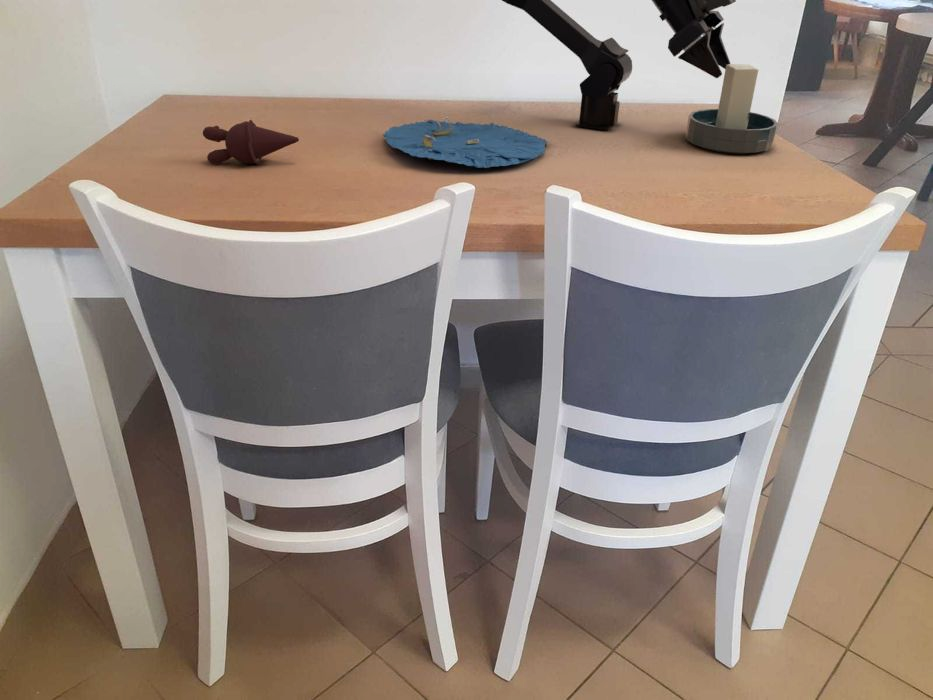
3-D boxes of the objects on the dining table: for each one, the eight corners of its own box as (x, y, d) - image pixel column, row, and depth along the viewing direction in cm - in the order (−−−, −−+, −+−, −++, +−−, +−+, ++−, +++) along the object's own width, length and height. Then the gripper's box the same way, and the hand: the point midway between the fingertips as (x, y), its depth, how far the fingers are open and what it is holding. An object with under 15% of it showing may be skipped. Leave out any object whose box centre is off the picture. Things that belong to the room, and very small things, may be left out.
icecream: (300, 116, 120) (208, 123, 120) (290, 115, 113) (193, 123, 113) (306, 160, 122) (215, 167, 122) (297, 162, 115) (201, 169, 115)
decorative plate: (443, 123, 147) (443, 96, 145) (576, 149, 133) (579, 119, 130) (339, 150, 126) (338, 119, 123) (484, 184, 111) (486, 149, 109)
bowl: (676, 148, 132) (681, 122, 129) (694, 128, 143) (698, 105, 141) (765, 161, 126) (771, 134, 124) (776, 140, 138) (782, 115, 136)
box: (744, 144, 132) (760, 69, 126) (719, 144, 132) (734, 68, 126) (735, 136, 137) (750, 63, 130) (711, 136, 137) (725, 63, 130)
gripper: (701, -34, 116) (758, 48, 117) (722, -40, 130) (772, 33, 132) (644, 16, 123) (698, 93, 124) (670, 5, 137) (718, 74, 139)
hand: (724, 72), depth 130 cm, fingers open, 9 cm apart
